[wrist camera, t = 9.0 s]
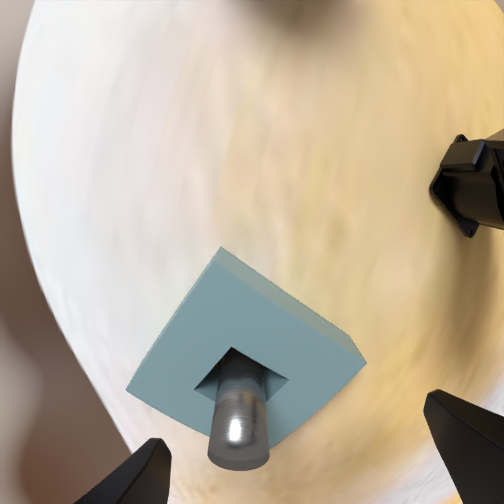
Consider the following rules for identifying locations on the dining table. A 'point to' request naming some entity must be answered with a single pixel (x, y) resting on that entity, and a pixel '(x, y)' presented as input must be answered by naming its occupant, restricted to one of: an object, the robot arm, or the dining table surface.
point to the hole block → (245, 350)
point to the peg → (239, 415)
